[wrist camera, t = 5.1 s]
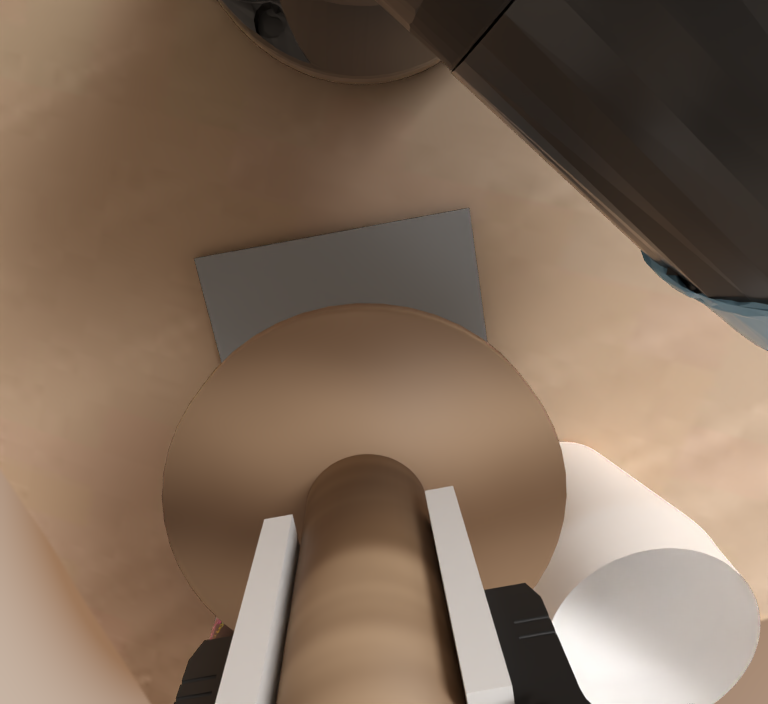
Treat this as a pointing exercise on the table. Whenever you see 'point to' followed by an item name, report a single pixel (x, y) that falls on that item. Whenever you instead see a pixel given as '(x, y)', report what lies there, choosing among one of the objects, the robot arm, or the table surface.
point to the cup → (643, 594)
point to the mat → (346, 276)
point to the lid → (363, 490)
